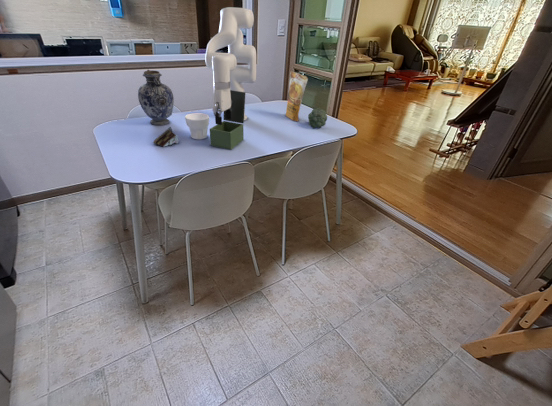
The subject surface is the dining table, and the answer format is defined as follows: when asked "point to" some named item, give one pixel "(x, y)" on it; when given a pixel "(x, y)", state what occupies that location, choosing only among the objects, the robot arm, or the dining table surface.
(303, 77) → the pancake mix bag
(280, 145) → the dining table surface
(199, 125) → the cup
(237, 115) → the bin lid
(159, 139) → the chocolate cake
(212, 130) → the bin
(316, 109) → the vegetable
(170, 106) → the decorative vase
